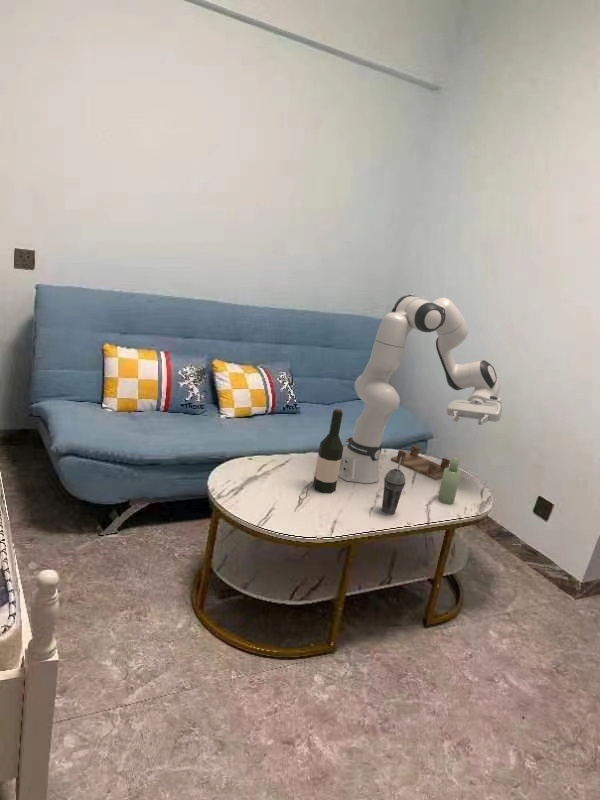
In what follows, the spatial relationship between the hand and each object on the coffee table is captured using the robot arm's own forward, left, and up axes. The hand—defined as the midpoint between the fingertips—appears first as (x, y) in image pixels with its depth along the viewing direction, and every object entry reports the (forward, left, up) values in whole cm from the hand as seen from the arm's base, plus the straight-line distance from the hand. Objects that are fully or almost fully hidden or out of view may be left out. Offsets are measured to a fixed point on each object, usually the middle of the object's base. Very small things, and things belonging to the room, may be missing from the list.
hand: (467, 421), depth 232 cm
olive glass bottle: (+4, -10, -28) cm, 31 cm away
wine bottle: (-27, -44, -29) cm, 60 cm away
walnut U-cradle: (-19, +11, -28) cm, 36 cm away
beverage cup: (-3, -38, -29) cm, 48 cm away
